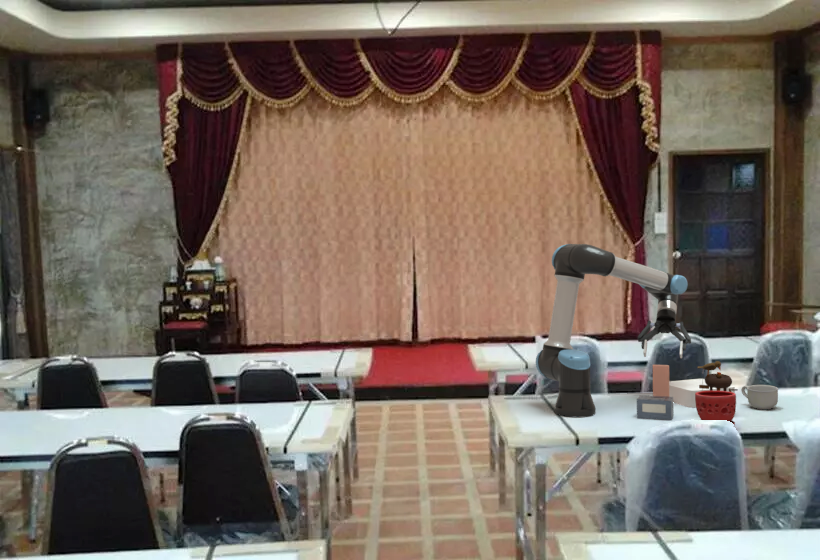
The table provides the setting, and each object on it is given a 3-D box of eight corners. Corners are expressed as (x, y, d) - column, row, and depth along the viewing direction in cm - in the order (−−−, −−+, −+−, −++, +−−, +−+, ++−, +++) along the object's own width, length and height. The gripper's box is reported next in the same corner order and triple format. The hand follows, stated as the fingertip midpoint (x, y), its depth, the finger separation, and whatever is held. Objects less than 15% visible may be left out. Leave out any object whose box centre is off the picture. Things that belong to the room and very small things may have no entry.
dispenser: (636, 418, 284) (636, 398, 284) (639, 413, 292) (639, 394, 291) (671, 420, 279) (671, 400, 279) (673, 415, 287) (673, 395, 287)
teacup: (784, 409, 293) (784, 388, 292) (762, 412, 289) (762, 390, 288) (755, 402, 306) (755, 382, 305) (734, 405, 302) (734, 384, 301)
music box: (703, 418, 282) (703, 363, 281) (691, 411, 293) (691, 358, 292) (745, 416, 282) (744, 361, 281) (731, 410, 293) (731, 357, 292)
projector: (740, 404, 305) (740, 386, 305) (692, 408, 299) (691, 391, 298) (705, 394, 325) (705, 378, 325) (659, 399, 319) (659, 382, 318)
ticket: (653, 405, 304) (652, 365, 304) (653, 405, 306) (653, 364, 305) (669, 406, 302) (668, 365, 301) (669, 406, 303) (669, 365, 303)
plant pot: (740, 425, 269) (740, 391, 269) (730, 433, 259) (730, 397, 258) (701, 421, 277) (701, 387, 277) (690, 428, 267) (690, 394, 266)
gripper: (699, 320, 316) (696, 362, 303) (636, 319, 327) (630, 359, 313) (698, 308, 311) (695, 350, 298) (634, 307, 321) (628, 348, 308)
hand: (662, 355), depth 306 cm, fingers open, 13 cm apart
